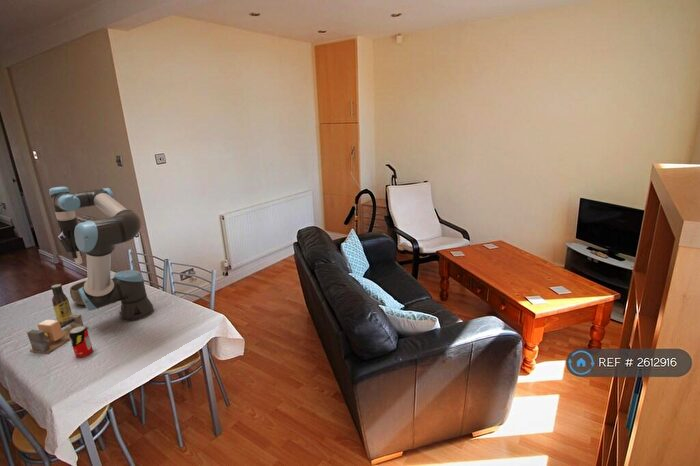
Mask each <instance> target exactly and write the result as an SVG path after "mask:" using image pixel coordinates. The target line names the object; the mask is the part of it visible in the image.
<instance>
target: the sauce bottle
mask: <svg viewBox="0 0 700 466" xmlns="http://www.w3.org/2000/svg"><path fill="white" fill-rule="evenodd" d="M50 288H51V290H52V294H53V296H52V299H51V302H52V307H53V311H54V314H55V317H56V321H59V323H60V325H62V324H64V323H66V322H67V321H69V317H68V316H70V315H72V314H73V312H72V309H71V306H70V305H71V304H70V302H69V301H70V300H69V298H68V297H67V295H66V294H65V293H64V291H63V286H62V284H61V283H58V284H57V283H56V284H53V285H51V287H50Z"/></svg>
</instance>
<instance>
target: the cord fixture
mask: <svg viewBox="0 0 700 466" xmlns="http://www.w3.org/2000/svg"><path fill="white" fill-rule="evenodd" d="M68 317H69V321H67V322H66V323H64V324H62V325H60V326H61V329H62V333H63V337H61V338H60V339H58V340H56V341H50V340H47V339H48V338H49V337H50V336H49V333H44V331H41V330H39V329H31V330H28V332H26V334H27V337H28V340H29V343H30V346H31V347H32V348H30V349H29V352H31V353H37V354H38V353H39V354H45V355H49V354H51V353H53V352H54V351H55V350H57V349H59V348H60V347H63V345H65V344H67V343H68V342H69V341H70V342H71V340H70V337H69V335H70V330H72V329H73V328H75V327H79V326H84V327H85V328H86V329H87V330H88V329H89V326H85V325H84V322H83V318H82V316H81V315H80V314H74V313H72V315H70V316H68ZM69 324H70V325H69ZM68 325H69V326H68ZM66 326H67V327H66ZM64 327H65V328H64ZM63 328H64V329H63Z"/></svg>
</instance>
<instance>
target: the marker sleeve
mask: <svg viewBox="0 0 700 466" xmlns="http://www.w3.org/2000/svg"><path fill="white" fill-rule="evenodd" d="M37 327H38V330H41V331H44V333H49V336H50V337H49V338H48V339H47V340H50V341H56V340H58V339H60V338H61V337H63V333H62V330H63V328H61V326H60V323H59V321H57V320H56V319H55V320H54V319H45V320H43V321H41V322H40V323H38V324H37Z"/></svg>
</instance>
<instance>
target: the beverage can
mask: <svg viewBox="0 0 700 466" xmlns="http://www.w3.org/2000/svg"><path fill="white" fill-rule="evenodd" d="M84 326H85V325H84ZM84 326H79V327H75V328H73V329H72V330H70V335H69V337H70V342H71V347H72V349H73V353H74V355H75V356H76V357H78V358H82V357H86V356H88V355H90V354H91V353H92V352H93V345H92V342H91V337H90V335H89V330H88V329H86V328H85V327H86V326H85V327H84Z"/></svg>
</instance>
